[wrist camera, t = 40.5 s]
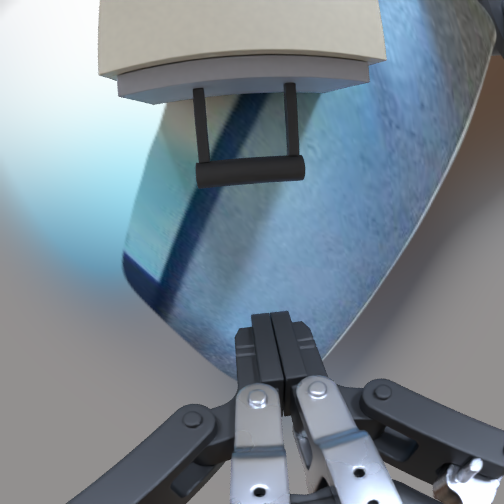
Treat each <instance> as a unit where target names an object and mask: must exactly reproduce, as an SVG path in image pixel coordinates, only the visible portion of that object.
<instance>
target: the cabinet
mask: <svg viewBox="0 0 504 504" xmlns="http://www.w3.org/2000/svg"><path fill="white" fill-rule="evenodd" d="M249 54H300V55H318V56H321V57H332V58H342V59H351V60H358V61H365V62H368V66H369V65H372V64H375V63H379V62H383V61H386V60H387V59H386V50H385V42H384V34H383V27H382V21H381V15H380V9H379V4H378V0H100V6H99V26H98V70H99V75H100V76H103V77H107V78H110V79H113V80H115V81H117V75H120V74H124V73H128V72H132V71H136V70H140V69H145V68H150V67H155V66H156V65H161V64H166V63H172V62H178V61H185V60H192V59H200V58H209V57H219V56H231V55H249Z"/></svg>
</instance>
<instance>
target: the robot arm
mask: <svg viewBox="0 0 504 504" xmlns="http://www.w3.org/2000/svg"><path fill="white" fill-rule="evenodd" d="M502 10H503V14H504V0H503V2H502ZM251 321H252V327H247V328H239V330H238V332H237V334H236V336H235V348H236V365H237V380H238V390H237V393H236V395H235V396H234V398H233V399H232V400H230V401H229V402H228V403H226V404H224V405H222V406H219V407H216V408H212V409H209V408H208V407H206V406H203V405H200V404H189V405H185V406H183V407H181V408H180V409H178V410H177V411H176V412H175V413H174V414H173V415H172V416H170V417H169V418H168V419H167V420H166V421H165V422H164V423H163V424H162V425H161V426H159V428H157V429H156V430H155V431H154V432H153V433H152V434H151V435H150V436H149V437H147V438H146V439H145V440H144V441H143V442H141V443H140V444H139V445H138V446H137V447H136V448H135V449H133V450H132V451H131V452H130V453H129V454H128V455H126V456H125V457H124V458H123V459H122V460H120V461H119V462H118V463H117V464H116V465H114V466H113V467H112V468H111V469H110V470H108V471H107V472H106V473H105V474H103V475H102V476H101V477H100V478H99V479H97V480H96V481H95V482H94V483H92V484H91V485H90V486H88V487H87V488H86V489H85V490H83V491H82V492H81V493H79V494H78V495H77V496H75V497H74V498H73V499H71V500H70V501H69V502H67V503H66V504H186V503H187V502H188V501H189V500H190V499H191V498H192V497H193V496H194V495H195V494H196V493H197V492H198V491H199V490H200V489H201V488H202V487H203V486H204V485H205V484H206V483H207V482H208V480H210V478H211V477H212V476H213V475H214V474H215V473H216V472H217V471H218V470H219V469H220V467H221V466H222V465H223V464H224V463H225V461H227V460H230V459H231V484H230V486H231V487H230V504H492V501H493V499H494V497H495V494H496V491H497V489H498V487H499V484H500V481H501V479H502V477H503V476H504V431H503V430H501V429H498V428H496V427H493V426H491V425H488V424H486V423H483V422H481V421H478V420H476V419H474V418H471V417H469V416H467V415H464V414H462V413H460V412H457V411H455V410H453V409H451V408H448V407H446V406H444V405H441V404H439V403H437V402H435V401H433V400H431V399H428V398H426V397H424V396H422V395H420V394H418V393H415V392H413V391H411V390H409V389H407V388H405V387H403V386H401V385H399V384H396V383H395V382H392V381H390V380H387V379H375V380H372V381H370V382H369V383H367V384H366V385H365V387H364V388H349V387H343V386H340V385H337V384H336V383H335V382H334V381H333V380H332V379H330V378H329V377H328V375H327V373H326V370H325V368H324V365H323V362H322V359H321V357H320V354H319V351H318V349H317V347H316V343H315V341H314V339H313V335H312V333H311V330H310V328H309V327H308V326H306V325H305V324H304V323H303V322H302V321H300V322H292V321H291V318H290V315H289V312H288V311H280V312H271V313H270V315H269V313H263V314H253V315H251ZM283 412H284V416H290V415H291V417H292V422H293V435H294V438H295V442H296V445H297V448H298V451H299V454H300V458H301V461H302V464H303V467H304V470H305V475H306V484H307V488H308V492H309V494H307V495H300V494H299V495H298V494H290V493H289V482H288V470H287V459H286V451H285V449H284V442H283V441H284V440H283V429H282V419H281V417H282V416H283ZM383 461H384V462H386V463H388V464H390V465H392V466H394V467H396V468H398V469H400V470H402V471H404V472H406V473H408V474H410V475H412V476H414V477H416V478H418V479H420V480H423V481H425V482H427V483H429V484H432V485H433V496H434V498H435V499H438V500H439V501H438V500H435V499H433V498H431V497H429V496H427V495H425V494H423V493H420V492H419V491H417V490H415V489H413V488H411V487H409V486H407V485H406V484H404V483H402V482H399V481H396V480H393V479H391V477H390V475H389V473H388V471H387V469H386V467H385V465H384V462H383ZM440 501H441V502H440Z"/></svg>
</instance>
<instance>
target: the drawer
mask: <svg viewBox="0 0 504 504" xmlns="http://www.w3.org/2000/svg"><path fill="white" fill-rule="evenodd" d="M368 82H369V68H368V62H365V61H358V60H351V59H342V58H332V57H321V56H318V55H300V54H249V55H231V56H219V57H209V58H200V59H192V60H185V61H178V62H172V63H166V64H161V65H156V66H155V67H150V68H145V69H140V70H136V71H132V72H128V73H124V74H120V75H117V84H118V96H119V97H123V98H127V99H132V100H136V101H141V102H145V103H149V104H153V105H155V104H160V103H167V102H173V101H179V100H186V99H193V103H194V115H195V126H196V137H197V148H198V158H199V163H196V181H197V186H198V188H199V189H202V188H211V187H221V186H231V185H242V184H254V183H268V182H283V181H300V180H304V177H305V163H304V159H303V157H302V155H299V136H298V115H297V98H296V92H309V93H326V92H330V91H334V90H338V89H342V88H346V87H350V86H355V85H359V84H364V83H368ZM272 92H284V104H285V121H286V140H287V155H286V156H267V157H252V158H239V159H228V160H218V161H210V152H209V142H208V130H207V118H206V106H205V97H211V96H221V95H232V94H247V93H272Z"/></svg>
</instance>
